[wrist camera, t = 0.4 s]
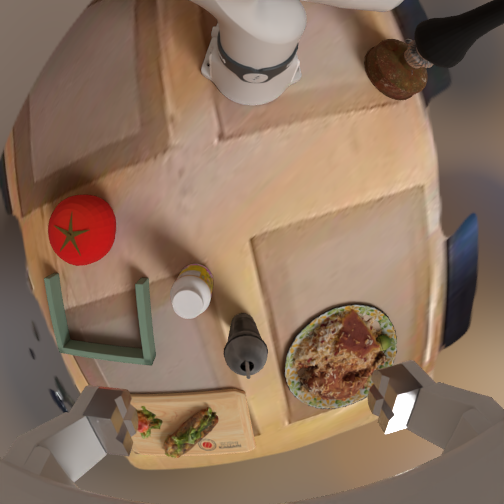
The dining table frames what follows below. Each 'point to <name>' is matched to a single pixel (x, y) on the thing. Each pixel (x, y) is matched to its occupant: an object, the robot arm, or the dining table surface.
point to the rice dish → (339, 356)
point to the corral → (101, 350)
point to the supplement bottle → (192, 291)
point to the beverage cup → (245, 347)
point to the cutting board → (193, 423)
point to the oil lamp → (428, 50)
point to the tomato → (82, 229)
